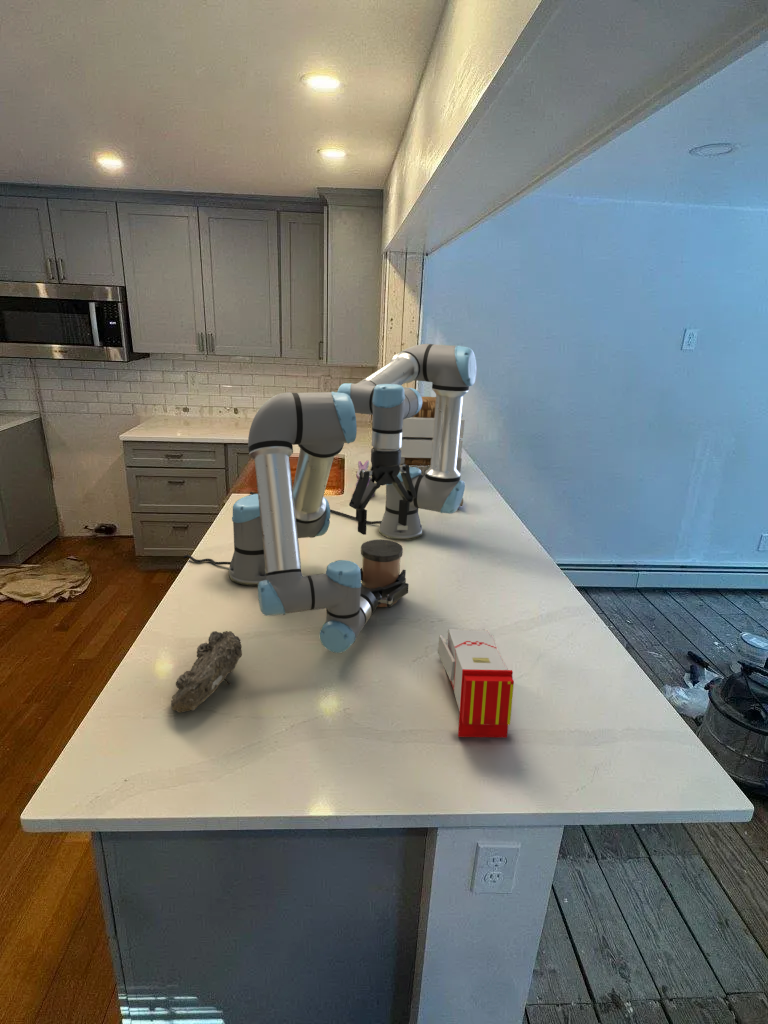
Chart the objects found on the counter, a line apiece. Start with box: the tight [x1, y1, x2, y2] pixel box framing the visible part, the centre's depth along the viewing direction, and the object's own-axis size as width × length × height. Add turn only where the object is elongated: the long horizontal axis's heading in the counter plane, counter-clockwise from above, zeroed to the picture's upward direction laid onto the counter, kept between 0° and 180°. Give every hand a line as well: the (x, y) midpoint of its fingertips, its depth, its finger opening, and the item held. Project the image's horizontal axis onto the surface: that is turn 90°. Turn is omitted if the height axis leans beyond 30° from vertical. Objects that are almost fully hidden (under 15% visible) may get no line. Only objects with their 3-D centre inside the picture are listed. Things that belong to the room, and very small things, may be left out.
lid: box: [360, 539, 404, 562], centre depth 150 cm, size 11×11×2 cm
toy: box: [437, 628, 515, 738], centre depth 117 cm, size 12×13×30 cm
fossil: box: [170, 630, 243, 713], centre depth 116 cm, size 22×10×15 cm
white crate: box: [399, 396, 465, 475], centre depth 268 cm, size 34×33×41 cm
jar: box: [361, 555, 401, 608], centre depth 153 cm, size 10×10×15 cm
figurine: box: [355, 460, 375, 498], centre depth 236 cm, size 9×10×15 cm
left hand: (385, 570), depth 157 cm, fingers closed on jar, 10 cm apart
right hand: (382, 528), depth 148 cm, fingers open, 12 cm apart
